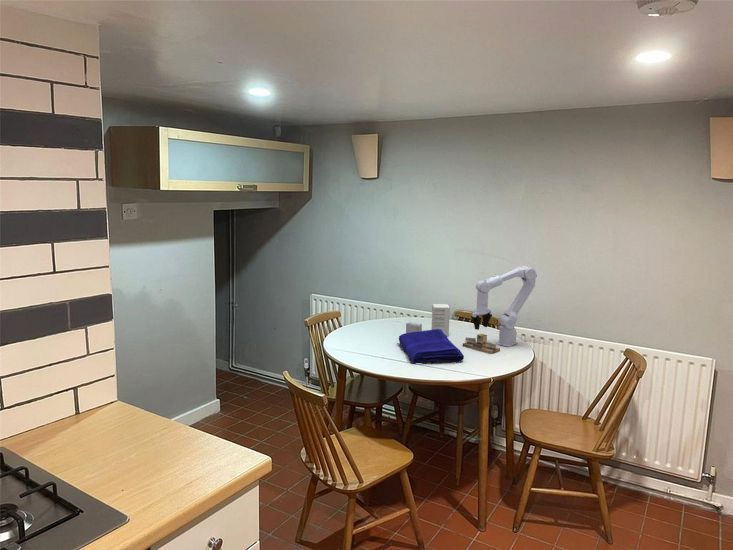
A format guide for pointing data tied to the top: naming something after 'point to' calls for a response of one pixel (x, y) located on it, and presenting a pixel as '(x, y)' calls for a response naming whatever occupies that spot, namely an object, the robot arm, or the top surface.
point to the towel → (430, 347)
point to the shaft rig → (489, 347)
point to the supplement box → (441, 317)
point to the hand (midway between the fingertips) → (481, 328)
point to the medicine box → (413, 327)
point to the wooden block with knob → (482, 339)
